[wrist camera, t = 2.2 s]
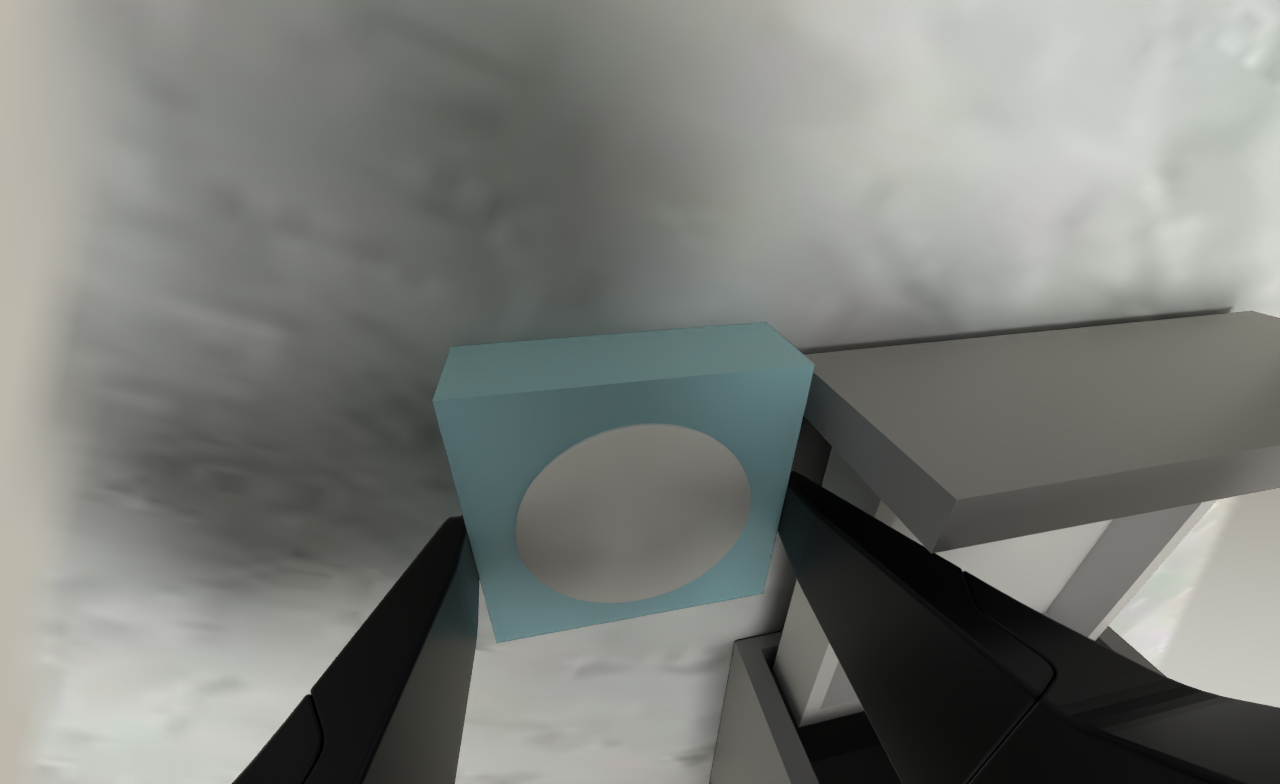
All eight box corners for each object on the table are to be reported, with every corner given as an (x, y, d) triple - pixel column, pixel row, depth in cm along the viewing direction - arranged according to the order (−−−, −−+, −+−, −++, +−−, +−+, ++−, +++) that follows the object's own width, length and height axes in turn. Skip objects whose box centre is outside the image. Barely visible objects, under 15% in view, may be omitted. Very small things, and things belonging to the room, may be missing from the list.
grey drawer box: (948, 721, 23) (1053, 872, 18) (709, 785, 21) (760, 974, 16) (1050, 575, 17) (1239, 740, 13) (735, 641, 15) (825, 870, 10)
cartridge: (726, 518, 13) (765, 599, 11) (502, 552, 12) (496, 649, 10) (755, 312, 10) (819, 368, 8) (455, 334, 9) (430, 406, 6)
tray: (1048, 595, 17) (1183, 718, 14) (735, 663, 15) (799, 831, 12) (1252, 310, 12) (1573, 396, 8) (794, 355, 9) (957, 499, 6)
